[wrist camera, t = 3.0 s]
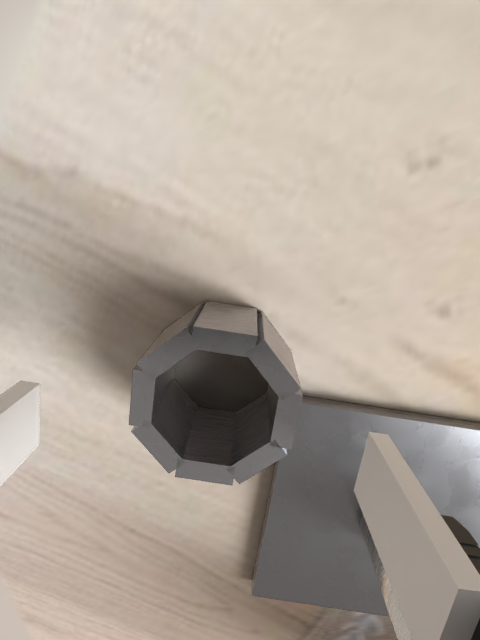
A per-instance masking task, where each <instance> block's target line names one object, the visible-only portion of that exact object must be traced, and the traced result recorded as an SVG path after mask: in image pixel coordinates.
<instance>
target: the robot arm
mask: <svg viewBox="0 0 480 640" xmlns="http://www.w3.org/2000/svg"><path fill="white" fill-rule="evenodd" d="M39 432H40V384H39V383H33V382H26V381H20V382H18V383H17V384H15V385H14V386H13V387H11V388H10V389H8V390H7V391H5V392H4V393H2V394H1V395H0V486H1V485H2V484H3V483H4V482H5V481H6V480H7V479H8V478H9V477H10V476H11V474H12V473H13V472H14V471H15V470H16V469H17V468H18V467H19V466H20V465H21V464H22V463H23V462H24V461H25V460H26V459H27V457H28V456H29V455H30V454H31V453H32V452H33V451H34V450H35V449H36V448H37V447H38V446H39ZM354 492H355V495H356V498H357V500H358V503H359V505H360V508H361V510H362V513H363V515H364V518H365V521H366V523H367V526H368V528H369V531H370V533H371V536H372V539H373V541H374V544H375V546H376V549H377V551H378V554H379V557H380V559H381V562H382V564H383V567H384V569H385V572H386V574H387V577H388V580H389V582H390V585H391V587H392V590H393V592H394V595H395V598H396V600H397V603H398V605H399V608H400V610H401V613H402V616H403V618H404V621H405V623H406V626H407V628H408V631H409V634H410V636H411V639H412V640H480V548H479V545H478V544H477V542H476V541H475V539H474V538H473V537H472V535H471V534H470V532H469V531H468V530H467V529H466V528H465V527H464V526H463V525H461V524H460V523H459V522H458V521H457V520H456V519H455V518H454V517H451V516H444V515H440V513H439V512H438V510H437V509H436V507H435V506H434V504H433V503H432V501H431V499H430V498H429V496H428V495H427V493H426V492H425V490H424V489H423V487H422V486H421V484H420V483H419V481H418V480H417V478H416V477H415V475H414V473H413V472H412V470H411V469H410V467H409V466H408V464H407V463H406V461H405V460H404V458H403V457H402V455H401V454H400V452H399V451H398V449H397V447H396V446H395V444H394V443H393V441H392V440H391V438H390V437H389V435H388V434H381V433H374V432H369V434H368V438H367V442H366V445H365V449H364V453H363V457H362V461H361V464H360V468H359V472H358V476H357V479H356V483H355V487H354Z"/></svg>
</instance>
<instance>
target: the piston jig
mask: <svg viewBox="0 0 480 640" xmlns="http://www.w3.org/2000/svg"><path fill="white" fill-rule="evenodd" d="M369 432H374V433H381V434H388V435H389V437H390V438H391V440H392V441H393V443H394V444H395V446H396V447H397V449H398V451H399V452H400V454H401V455H402V457H403V458H404V460H405V461H406V463H407V464H408V466H409V467H410V469H411V470H412V472H413V473H414V475H415V477H416V478H417V480H418V481H419V483H420V484H421V486H422V487H423V489H424V490H425V492H426V493H427V495H428V496H429V498H430V499H431V501H432V503H433V504H434V506H435V507H436V509H437V510H438V512H439V513H440V515H444V516H451V517H454V518H455V519H456V520H457V521H458V522H459V523H460V524H461V525H463V526H464V527H465V528H466V529H467V530H468V531H469V532H470V534H471V535H472V537H473V538H474V539H475V541H476V542H477V544H478V545H479V548H480V423H478V422H471V421H465V420H458V419H452V418H445V417H439V416H432V415H426V414H419V413H412V412H406V411H399V410H393V409H386V408H380V407H373V406H367V405H360V404H354V403H347V402H340V401H334V400H327V399H321V398H314V397H308V396H303V397H302V401H301V406H300V411H299V416H298V420H297V425H296V430H295V435H294V439H293V444H292V449H286V450H287V456H285V457H283V458H282V459H280V460H278V461H277V462H276V463H275V468H274V473H273V478H272V483H271V488H270V493H269V498H268V503H267V508H266V513H265V518H264V523H263V528H262V533H261V538H260V543H259V548H258V553H257V558H256V563H255V568H254V573H253V578H252V596H258V597H264V598H271V599H277V600H284V601H291V602H297V603H304V604H310V605H317V606H324V607H330V608H337V609H344V610H350V611H357V612H363V613H370V614H377V615H383V616H390V618H391V621H392V624H393V627H394V630H395V633H396V636H397V639H398V640H412V639H411V636H410V634H409V631H408V628H407V626H406V623H405V621H404V618H403V616H402V613H401V610H400V608H399V605H398V603H397V600H396V598H395V595H394V592H393V590H392V587H391V585H390V582H389V580H388V577H387V574H386V572H385V569H384V567H383V564H382V562H381V559H380V557H379V554H378V551H377V549H376V546H375V544H374V541H373V539H372V536H371V533H370V531H369V528H368V526H367V523H366V521H365V518H364V515H363V513H362V510H361V508H360V505H359V503H358V500H357V498H356V495H355V492H354V487H355V483H356V479H357V476H358V472H359V468H360V464H361V461H362V457H363V453H364V449H365V445H366V442H367V438H368V434H369Z"/></svg>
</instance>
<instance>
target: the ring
mask: <svg viewBox="0 0 480 640" xmlns="http://www.w3.org/2000/svg"><path fill="white" fill-rule="evenodd" d="M195 350H202V351H209V352H216V353H222V354H229V355H235V356H242V357H248V358H249V359H250V360H251V362H252V363H253V364H254V365H255V367H256V368H257V369H258V371H259V372H260V373H261V374H262V376H263V377H264V378H265V380H266V381H267V382H268V388H267V392H266V393H265V394H263V395H262V396H260V397H259V398H257V399H256V400H254V401H252V402H251V403H249V404H248V405H246V406H245V407H243V408H242V409H240V410H239V411H237V412H230V411H223V410H217V409H210V408H203V407H198V406H197V405H196V404H195V402H194V401H193V400H192V399H191V398H190V396H189V395H188V394H187V393H186V392H185V390H184V389H183V388H182V387H181V386H180V384H179V383H178V382H177V381H176V380H175V378H174V375H175V366H176V363H178V362H179V361H180V360H182V359H183V358H185V357H186V356H187V355H189V354H190V353H192V352H193V351H195ZM302 397H303V395H302V391H301V386H300V382H299V379H298V375H297V371H296V368H295V364H294V360H293V357H292V353H291V349H290V348H289V347H288V345H287V344H286V343H285V341H284V340H283V339H282V337H281V336H280V335H279V333H278V332H277V331H276V329H275V328H274V327H273V325H272V324H271V323H270V321H269V320H268V319H267V317H266V316H265V314H264V313H263V312H261V313H259V314H258V315H257V308H252V307H246V306H239V305H233V304H226V303H220V302H213V301H207V303H206V305H205V306H204V304H203V303H202V302H201V303H200V304H198V305H197V306H196V307H194V308H193V309H192V310H190V311H189V312H188V313H186V314H185V315H183V316H182V317H181V318H179V319H178V320H177V321H175V322H174V323H173V324H171V325H170V326H169V327H167V328H166V329H164V330H163V331H162V333H161V334H160V335H159V336H158V338H157V339H156V340H155V341H154V343H153V344H152V345H151V346H150V348H149V349H148V350H147V351H146V352H145V354H144V355H143V356H142V357H141V359H140V360H139V361H138V362H137V365H136V367H135V368H134V369H133V377H132V390H131V403H130V415H129V425H133V426H134V427H133V429H132V431H131V432H132V433H133V434H134V435H135V436H136V437H137V438H138V440H139V441H140V442H141V443H142V444H143V445H144V446H145V447H146V449H147V450H148V451H149V452H150V453H151V454H152V455H153V456H154V457H155V459H156V460H157V461H158V462H159V463H160V464H161V465H162V466H163V468H164V469H165V470H166V471H167V472H168V473H170V472H172V471H173V470H175V469H176V474H175V477H180V478H186V479H193V480H200V481H206V482H213V483H219V484H226V485H233V479H234V478H235V480H236V481H237V482H238V483H239V484H240V483H242V482H244V481H245V480H247V479H249V478H250V477H252V476H254V475H255V474H257V473H259V472H260V471H262V470H264V469H265V468H267V467H268V466H270V465H272V464H273V463H275V462H277V461H278V460H280V459H282V458H283V457H285V456H287V450H286V449H292V444H293V439H294V435H295V430H296V425H297V420H298V416H299V411H300V406H301V401H302Z"/></svg>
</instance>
